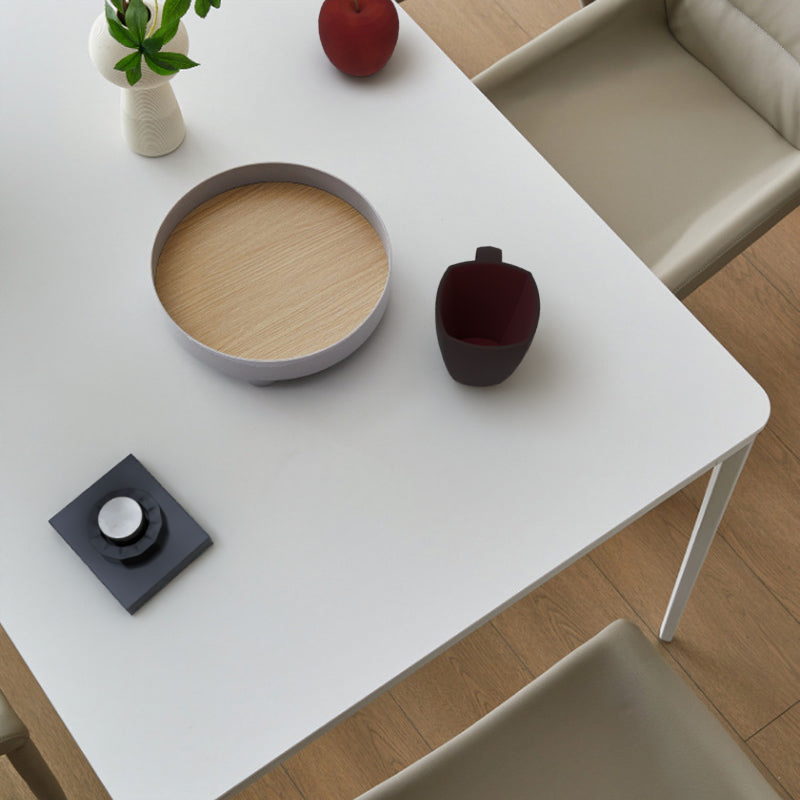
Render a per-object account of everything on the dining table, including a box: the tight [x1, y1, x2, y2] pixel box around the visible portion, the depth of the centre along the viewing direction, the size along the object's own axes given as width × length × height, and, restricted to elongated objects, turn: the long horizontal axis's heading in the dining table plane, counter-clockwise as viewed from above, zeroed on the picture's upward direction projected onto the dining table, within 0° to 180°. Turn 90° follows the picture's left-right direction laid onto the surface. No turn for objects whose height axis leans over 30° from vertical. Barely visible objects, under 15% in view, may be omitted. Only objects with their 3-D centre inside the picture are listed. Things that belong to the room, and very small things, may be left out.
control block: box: [47, 452, 214, 616], centre depth 96 cm, size 12×10×4 cm
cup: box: [434, 245, 541, 388], centre depth 102 cm, size 10×14×12 cm
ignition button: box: [98, 497, 147, 545], centre depth 94 cm, size 4×4×2 cm
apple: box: [317, 0, 400, 77], centre depth 119 cm, size 10×10×10 cm
